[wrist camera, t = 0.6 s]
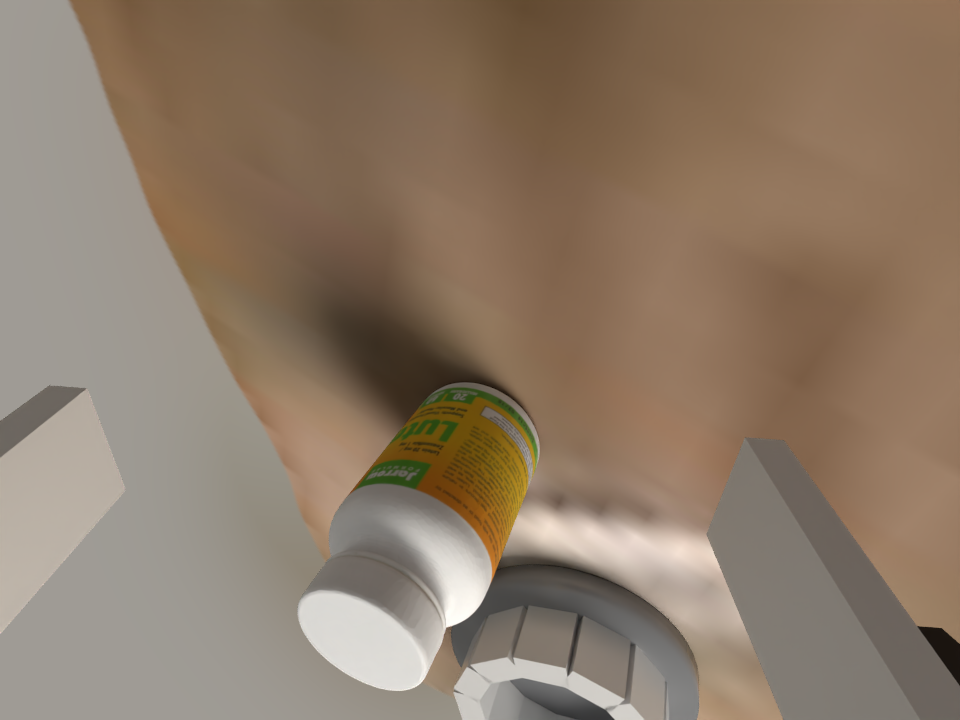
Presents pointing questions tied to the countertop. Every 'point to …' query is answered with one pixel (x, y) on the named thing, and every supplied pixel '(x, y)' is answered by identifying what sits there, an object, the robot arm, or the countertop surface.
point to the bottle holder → (570, 652)
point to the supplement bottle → (421, 536)
